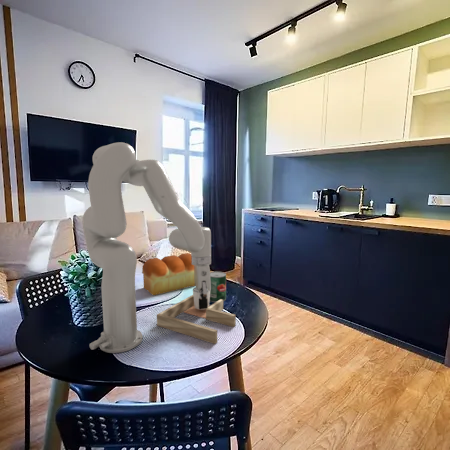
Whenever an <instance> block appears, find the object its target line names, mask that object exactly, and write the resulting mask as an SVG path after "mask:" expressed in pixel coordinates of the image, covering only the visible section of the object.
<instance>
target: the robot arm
mask: <svg viewBox="0 0 450 450" xmlns="http://www.w3.org/2000/svg"><path fill="white" fill-rule="evenodd" d="M136 156H137V155H136V151H135V149H134V147H133V146H131V145H130V144H129V143H127V142H126V143H125V142H122V141H121V142H119V141H118V142H113V143H110V144H107V145H102V146H100V147H98V148H97V149H96V150H94V153H93V155H92V164H93V165H92V166H91V170H90V172H89V175H88V183H87V185H88V194H89V195H88V196H89V201H90V206H89V207H88V208H87V209H85V210H84V211H85V212H84V213H83V216H82V229H83V234H84V240H85V244H86V248H87V253H88V256H89V259H90V261H91V262H92V263H93V264H94V265H95V266H97V267H98V268H101V269H102V279H101V287H100V288H101V289H100V290H101V302H102V304H101V305H102V318H103V320H102V321H103V331H102V332H101V333H100V337H98V339H97V340H94V341H92V342H91V343H89V348H90V350H96V349H97V348H100V350H101V351H103V352H105V353H109V354H118V353H123V352H127V351H130V350H132V349H135V348H136V347H138V346H139V345H140V344H141V343H142V341H143V333H142V331H140V330H138V324H137V323H138V322H137V321H138V320H137V300H136V299H137V298H136V270H137V263H138V262H137V261H138V257H137V254H136V251H135V249H134V248H133V247H132V246H131V245H130V244H129V243H127V242H124V241H121V240H119V239H118V237H121V236H122V235H124V234H125V232H126V230H127V217H126V212H125V205H124V201H123V193H122V183H123V182H124V183H126V184H128V185H129V184H130V185H133V186H135V187H142V188H144V190H145V192H146V194H147V196H148V198H149V199H150V201H151V204H152V206H153V208H154V210H155V211H156V212H157V213H158V214H160V216H162V217H163V218H165V219H167V220H168V221H169V222H171V223H172V224H173V225H174V226H175V227H176V228H175V229H173V230H172V231H171V232H169V233H170V234H169V236H168V241H169V244H170V245H171V246H172V247H173V248H175V249H178V250H182V251H186V252H188V253H190V254H191V264H192V265H194V282H195V286H194V287H196V288H197V290H198V291H199V292H200V299H199V309H206V308H207V307H208V304H207V289H208V290H209V291H210V290H211V280H210V272H211V269H210V265H212V232H211V229H210V227H207V226H201V225H200V223H199V220H198V219H197V218H196V217H195V215H194V213H192V212H191V210H190V209H189V208H188V206H186V205H185V204H184V203H183V202H182V201H181V200H180V198H179V196H178V195H177V192H176V191H175V188H174V186H173V184H172V181H171V180H170V177H169V175H168V173H167V171H166V169H165V167H164V165H163V164H162V163H161V162H160V161H159V160H155V159H143V160H138V159H137V157H136ZM201 289H203V290H201ZM201 292H203V294H202V295H201Z"/></svg>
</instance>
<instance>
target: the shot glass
mask: <svg viewBox="0 0 450 450" xmlns="http://www.w3.org/2000/svg"><path fill="white" fill-rule="evenodd" d="M201 290H203V289H201ZM202 294H203V292H201V295H202ZM192 295H193V297H194V306H195V308H196V309H199V299H200V292H199V291H198V290H197V288H196V286H194V288H192ZM210 302H211V301H210V291H209V290H208V289H207V304H208V307H209V305H210ZM208 307H207V308H208ZM207 308H206V309H207Z"/></svg>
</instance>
